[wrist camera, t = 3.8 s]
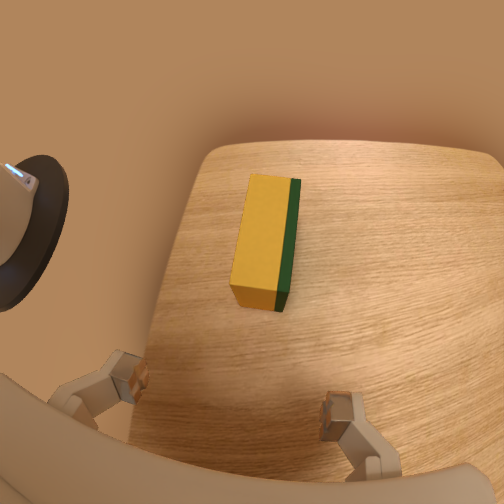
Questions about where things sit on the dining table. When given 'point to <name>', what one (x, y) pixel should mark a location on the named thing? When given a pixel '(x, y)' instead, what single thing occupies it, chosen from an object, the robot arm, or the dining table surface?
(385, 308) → the dining table surface
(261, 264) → the sponge
